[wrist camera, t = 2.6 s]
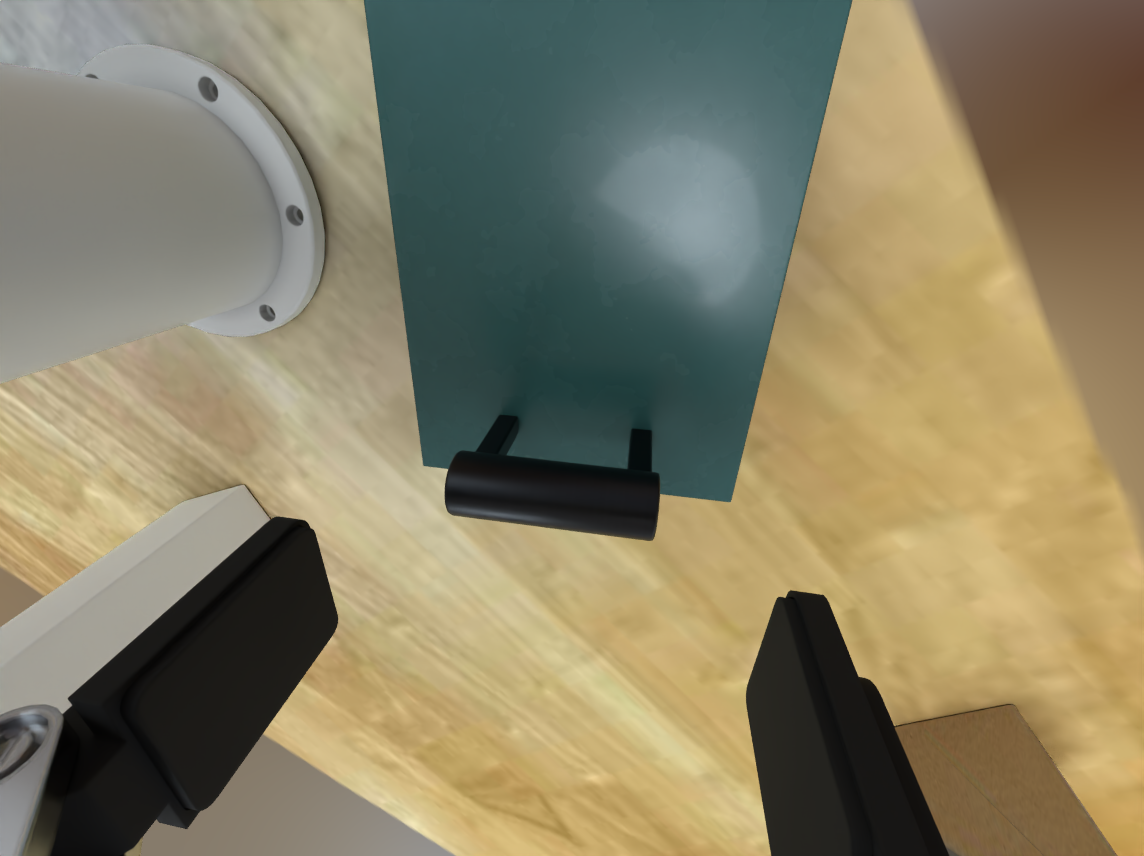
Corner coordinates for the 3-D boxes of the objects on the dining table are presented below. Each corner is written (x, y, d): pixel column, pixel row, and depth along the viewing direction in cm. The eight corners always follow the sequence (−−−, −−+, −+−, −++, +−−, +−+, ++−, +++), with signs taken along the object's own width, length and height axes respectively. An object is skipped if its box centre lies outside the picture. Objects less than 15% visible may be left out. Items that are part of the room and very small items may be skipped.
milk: (295, 548, 35) (-147, 1017, 15) (234, 562, 36) (-233, 1000, 17) (243, 481, 32) (-358, 937, 13) (180, 499, 34) (-433, 926, 15)
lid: (728, 489, 17) (756, 608, 13) (431, 455, 19) (355, 551, 14) (855, -50, 10) (1019, -235, 6) (373, -46, 12) (184, -194, 7)
